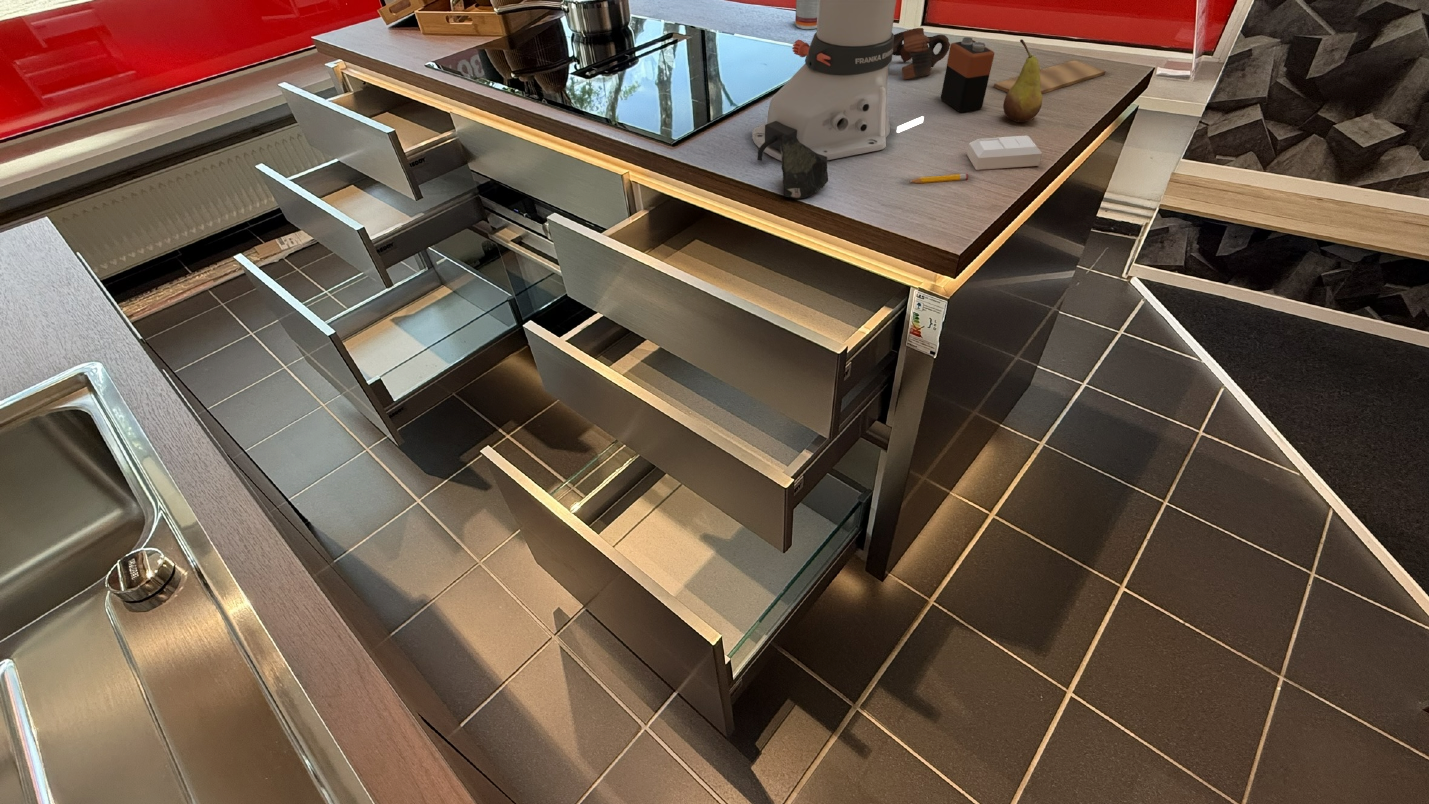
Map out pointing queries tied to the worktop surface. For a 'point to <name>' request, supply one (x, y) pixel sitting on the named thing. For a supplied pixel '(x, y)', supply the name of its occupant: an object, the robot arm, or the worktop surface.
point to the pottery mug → (919, 51)
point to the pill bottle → (806, 14)
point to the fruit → (1025, 92)
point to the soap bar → (1003, 152)
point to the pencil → (940, 178)
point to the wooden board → (1058, 76)
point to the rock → (801, 168)
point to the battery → (967, 75)
